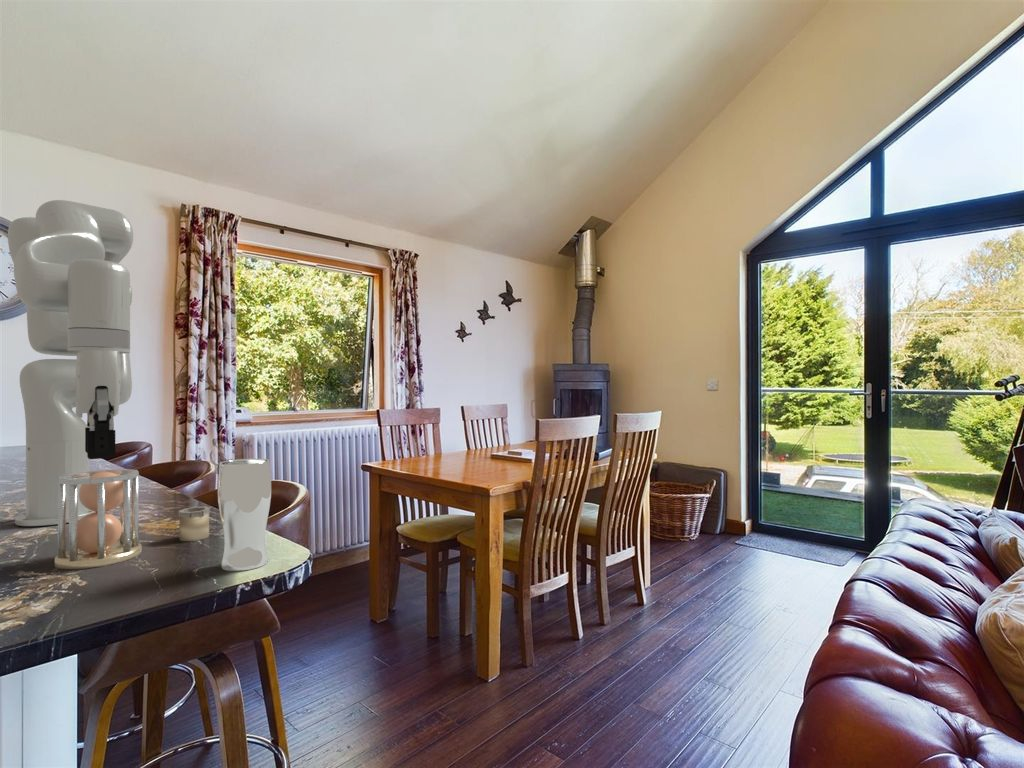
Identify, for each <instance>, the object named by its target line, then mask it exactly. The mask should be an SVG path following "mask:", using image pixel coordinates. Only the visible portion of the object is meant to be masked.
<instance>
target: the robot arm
mask: <svg viewBox="0 0 1024 768" xmlns="http://www.w3.org/2000/svg"><path fill="white" fill-rule="evenodd" d="M7 243H8V250H9V255H10V258H11V260H12V262H13V277H14V283H15V287H16V293H17V296H18V298H19V299H20V301H21V302H22V304H24V305H25V306H26V324H27V337H28V341H29V344H30V347H31V348H32V350H34V351H35V352H37V353H40V354H44V355H51V356H61V357H62V356H65V357H67V356H68V357H76V359H74V358H71V359H70V358H67V359H66V358H45V359H37V360H33V361H31V362H29V363H27V364H26V365H24V366H23V367H22V369H21V370H20V372H19V388H20V391H21V392H20V393H21V397H22V398H21V399H22V403H23V408H24V409H23V410H24V419H25V420H24V421H25V513H23V514H20V515H18V516H16V517H15V518H14V524H15V525H16V526H18V527H19V526H20V527H41V526H42V527H45V526H54V525H58V482H59V476H63V475H67V474H73V473H80V472H87V471H90V460H98V459H101V460H102V459H111V458H115V457H116V429H115V428H114V427H115V425H114V417H116V416H117V415H119V408H120V406H121V405H123V404H125V403H127V402H128V401H129V399H130V398H131V395H132V391H133V390H132V389H133V385H132V383H133V381H132V380H133V379H132V378H133V377H132V367H131V360H130V359H131V358H130V353H131V305H132V303H133V302H132V301H133V300H132V299H133V293H132V292H133V290H132V289H133V288H132V286H131V276H130V272H129V270H128V268H127V267H126V266H124V265H123V264H121V263H120V262H122V260H123V259H125V257H126V256H127V254H128V253H129V252H130V250H131V249H132V246H133V243H134V230H133V226H132V224H131V222H130V220H129V219H128V217H127V216H126V215H125V214H123V213H122V212H120V211H118V210H115V209H111V208H105V207H100V206H96V205H90V204H85V203H83V202H81V203H80V202H76V201H70V200H66V199H65V200H64V199H63V200H62V199H55V200H49V201H46V202H44V203H42V204H41V205H40V206H39V207H38V208H37V210H36V213H35V217H32V216H29V217H28V216H26V217H19V218H16V219H13V221H11V223H10V224H9V225H8V229H7ZM73 408H74V409H75V412H74V411H73ZM83 414H86V419H87V420H86V422H85V420H83V419H82V418H83ZM89 477H90V476H88V477H81V478H77V479H87V478H89ZM81 485H82V484H78V521H79V520H80V519H81V518H83V517H84V516H86V515H88V514H91V513H95V511H92V510H89V509H87V508H86V507H84V506H83V505H82V503H81V502H80V499H79V489H80V487H81ZM67 523H68V524H69V485H68V484H66V524H67Z"/></svg>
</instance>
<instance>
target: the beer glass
mask: <svg viewBox="0 0 1024 768" xmlns="http://www.w3.org/2000/svg"><path fill="white" fill-rule="evenodd" d="M270 461H271V460H270V459H268V458H240V459H230V460H224V461H220V462H219V467H218V480H217V481H218V482H217V503H218V511H219V515H220V522H221V526H222V531H223V538H224V547H223V549H224V550H223V555H222V560H221V569H222V570H223V571H225V572H245V571H250V570H255V569H258V568H261V567H263V566H265V565H266V564H267V563H268V562H269V556H268V550H267V546H266V532H267V531H266V530H267V524H268V518H269V514H270V513H269V512H270V509H271V508H270V507H271V502H272V501H271V499H272V473H271V464H270Z"/></svg>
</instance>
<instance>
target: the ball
mask: <svg viewBox="0 0 1024 768" xmlns="http://www.w3.org/2000/svg"><path fill="white" fill-rule="evenodd" d="M121 533H122V526H121V523H120V518H118V517H117V516H115V515H114V514H112V513H110V512H108V511H105V550H107V549H109V548H111V547H112V546H113V545H114V544H115V543H116V542H117V541H120V536H121ZM78 549H79V550H81V551H83V552H87V553H97V512H95V513H91V514H88V515H86V516H84V517H83V518H81V519H80V520H79V521H78Z"/></svg>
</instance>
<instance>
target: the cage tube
mask: <svg viewBox="0 0 1024 768" xmlns="http://www.w3.org/2000/svg"><path fill="white" fill-rule="evenodd" d="M102 472H111V473H115V474H117V475H118V476H112V477H102V478H88V479H77V478H81V477H88V476H89V477H90V476H92V475H94V474H97V473H102ZM139 472H140V471H138V469H129V468H127V469H126V468H123V469H122V468H120V469H102V470H101V469H100V470H99V469H98V470H89V471H87V472H80V473H73V474H67V475H63V476H59V482H58V524H57V555H56V556H55V557H54V567H55V568H56V569H59V570H60V569H61V570H85V569H94V568H99V567H106V566H110V565H116V564H120V563H122V562H125V561H129V560H132V559H134V558H136V557H138V556H139V555H141V554H142V544H141V543H140V542H139V541H140V539H139V538H140V537H139V536H140V535H139V533H140V532H139V531H140V530H139V525H140V522H139V519H140V515H139V514H140V513H139V510H140V509H139V508H140V507H139V506H140V505H139V503H140V502H139V500H140V499H139V497H140V495H139V494H140V491H139V487H140V485H139V484H140V479H139V476H140V473H139ZM121 480H123V502H122V503H121V504H120V505H119V521H120V523H121V526H122V533H121V536H120V538H119V540H118V541H117V542H116V543H115V544H114V545H113V546H112V547H111V548H109V549H107V550H105V512H106V511H105V483H106V482H115V481H121ZM96 483H97V553H87V552H83V551H81V550H79V549H78V484H96ZM66 484H68V485H69V523H68V547H69V548H68V550H67V523H66ZM95 512H96V511H95Z"/></svg>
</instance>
